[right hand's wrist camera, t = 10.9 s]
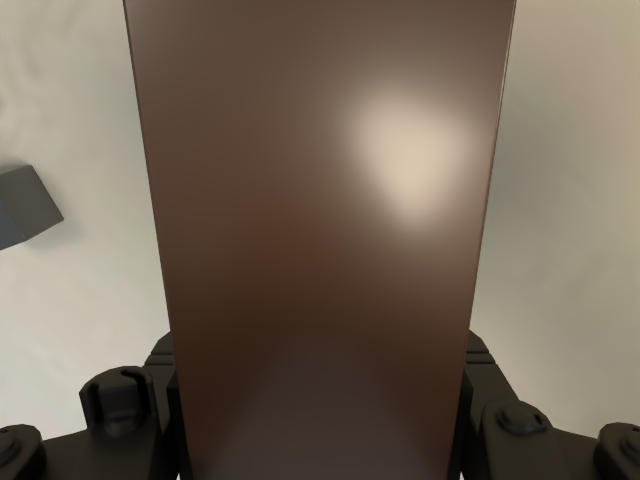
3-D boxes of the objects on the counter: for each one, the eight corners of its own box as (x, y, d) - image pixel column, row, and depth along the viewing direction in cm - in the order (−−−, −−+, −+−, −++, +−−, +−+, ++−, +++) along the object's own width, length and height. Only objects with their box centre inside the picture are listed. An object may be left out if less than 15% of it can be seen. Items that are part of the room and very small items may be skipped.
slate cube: (31, 164, 28) (-14, 178, 24) (64, 219, 29) (27, 240, 25) (-21, 185, 28) (-72, 202, 25) (14, 238, 30) (-30, 261, 26)
